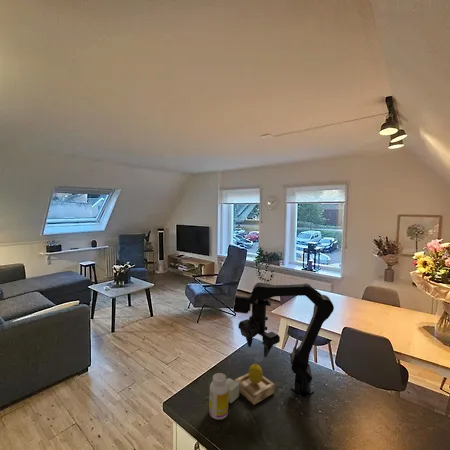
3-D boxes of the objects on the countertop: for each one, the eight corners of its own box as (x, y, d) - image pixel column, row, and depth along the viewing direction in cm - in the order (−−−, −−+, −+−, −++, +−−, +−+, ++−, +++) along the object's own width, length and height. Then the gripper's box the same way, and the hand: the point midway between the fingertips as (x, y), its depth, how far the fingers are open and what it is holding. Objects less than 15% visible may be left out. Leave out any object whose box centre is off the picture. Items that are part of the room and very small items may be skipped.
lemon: (260, 379, 103) (261, 360, 102) (263, 388, 97) (264, 368, 97) (247, 379, 102) (248, 360, 102) (249, 388, 97) (249, 368, 97)
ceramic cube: (228, 390, 100) (228, 377, 99) (238, 396, 96) (239, 383, 96) (220, 397, 96) (221, 384, 95) (231, 403, 92) (231, 390, 92)
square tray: (254, 377, 107) (254, 369, 107) (274, 392, 99) (274, 384, 99) (234, 388, 101) (235, 379, 101) (253, 405, 92) (254, 395, 92)
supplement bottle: (231, 410, 89) (232, 375, 88) (221, 423, 83) (222, 386, 83) (215, 403, 92) (216, 368, 92) (205, 415, 87) (206, 378, 86)
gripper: (229, 311, 106) (228, 347, 106) (261, 327, 91) (259, 370, 92) (248, 306, 113) (247, 340, 113) (281, 320, 98) (279, 360, 98)
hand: (257, 351), depth 104 cm, fingers open, 9 cm apart
